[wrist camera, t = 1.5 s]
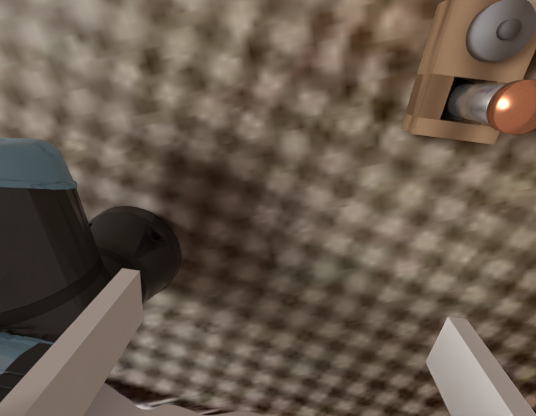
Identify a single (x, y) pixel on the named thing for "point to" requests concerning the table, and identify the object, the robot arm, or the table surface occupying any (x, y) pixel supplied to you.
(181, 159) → the table surface
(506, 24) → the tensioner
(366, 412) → the table surface
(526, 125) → the pin
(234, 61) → the table surface
